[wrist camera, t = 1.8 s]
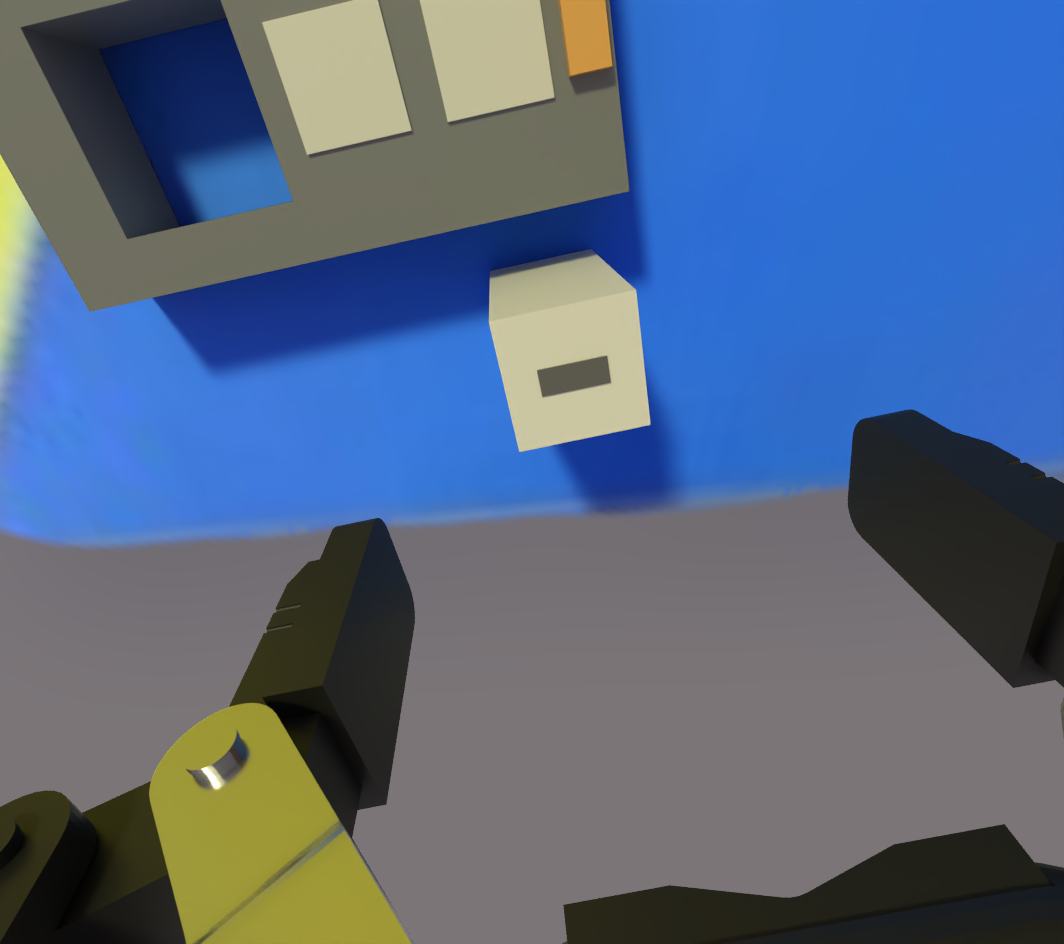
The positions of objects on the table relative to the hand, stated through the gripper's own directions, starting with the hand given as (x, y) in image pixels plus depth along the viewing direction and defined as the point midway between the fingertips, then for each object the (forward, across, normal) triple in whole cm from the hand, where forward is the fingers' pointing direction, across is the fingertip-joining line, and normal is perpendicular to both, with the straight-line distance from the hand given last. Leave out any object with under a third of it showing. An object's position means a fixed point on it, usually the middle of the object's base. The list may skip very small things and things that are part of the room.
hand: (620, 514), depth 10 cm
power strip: (+15, +6, -8) cm, 18 cm away
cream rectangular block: (+15, 0, 0) cm, 15 cm away
